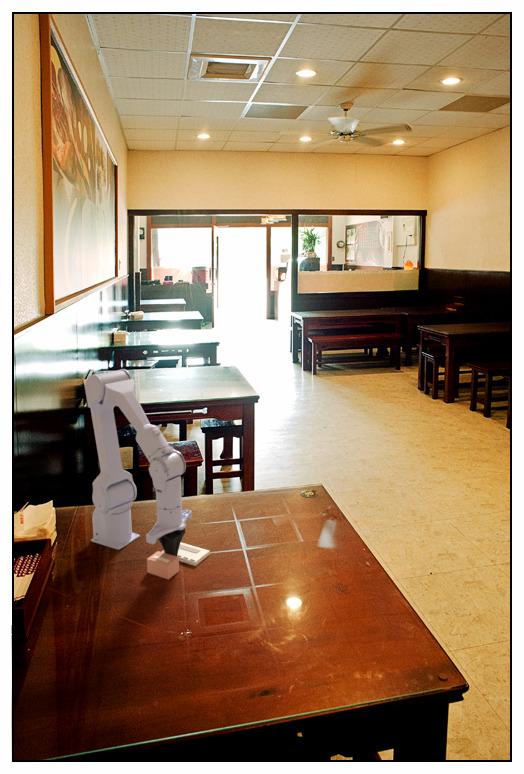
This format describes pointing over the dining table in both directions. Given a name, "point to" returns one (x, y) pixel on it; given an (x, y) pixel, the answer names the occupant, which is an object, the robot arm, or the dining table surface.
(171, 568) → the pink rectangular block
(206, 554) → the white slotted panel
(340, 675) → the dining table surface
